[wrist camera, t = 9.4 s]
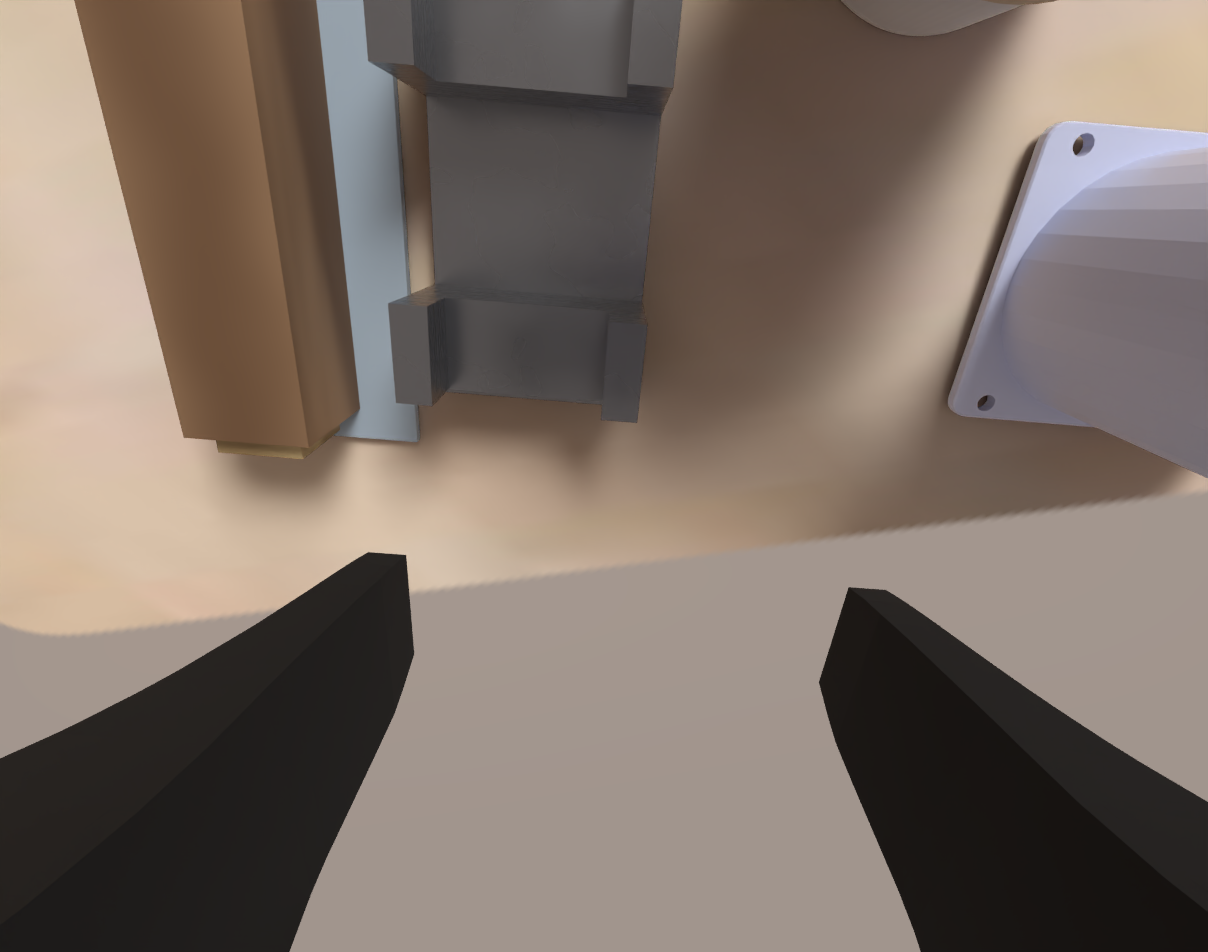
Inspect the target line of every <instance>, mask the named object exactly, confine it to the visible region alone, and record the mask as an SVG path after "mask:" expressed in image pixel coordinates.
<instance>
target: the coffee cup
mask: <svg viewBox="0 0 1208 952" xmlns="http://www.w3.org/2000/svg"><path fill="white" fill-rule="evenodd" d="M841 1H842V2H843V3H844V4H845V5H846V6H847V7H848V8H849V9H850V10H851V11H852V12H854V13H855V14H856V15H857V16H859V17H860V18H862V19H863V20H864V21H866V22H868V23H870V24H871V25H873V26H875V27H878V28H880V29H882V30H885V31H888V32H891V33H895V34H900V35H907V36H932V35H939V34H944V33H948V32H952V31H955V30H958V29H961V28H964V27H967V26H970V25H972V24H975V23H977V22H980V21H983V20H985V19H988V18H991V17H993V16H996V15H999V14H1001V13H1004V12H1006V11H1009V10H1012V9H1014V8H1017V7H1020V6H1022V5H1025V4H1039V3H1046V2H1052V1H1057V0H841Z"/></svg>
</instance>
